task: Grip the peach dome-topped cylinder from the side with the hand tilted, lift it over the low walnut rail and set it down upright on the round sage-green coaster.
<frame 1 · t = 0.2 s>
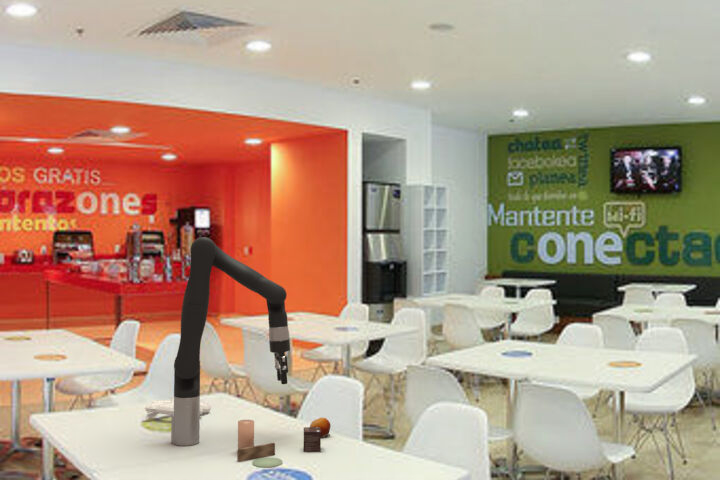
hand: (282, 382, 289), 21 cm above the table, fingers open, 8 cm apart
box: (311, 450, 276), on the table
pretzel: (177, 415, 324), on the table
fruit: (319, 436, 295), on the table
coaster: (267, 463, 260), on the table
peach dome-topped cylinder: (245, 453, 271), on the table
rail: (256, 457, 265), on the table
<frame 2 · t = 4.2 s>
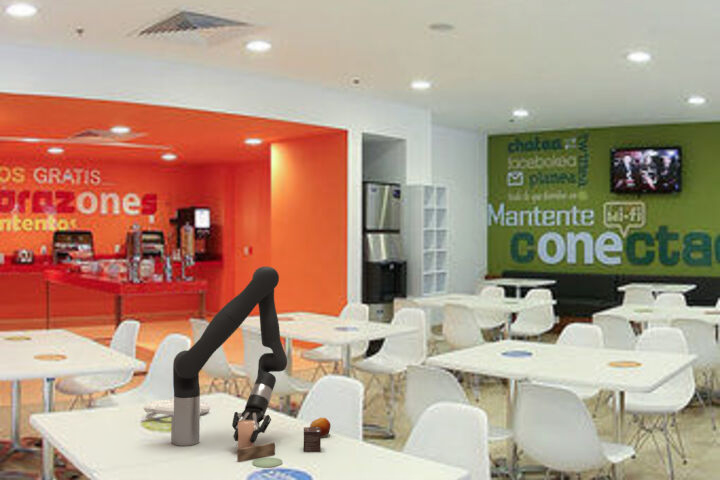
hand: (243, 440, 269), 5 cm above the table, fingers closed on peach dome-topped cylinder, 5 cm apart
peach dome-topped cylinder: (245, 453, 271), on the table, touching gripper
everything else where it was.
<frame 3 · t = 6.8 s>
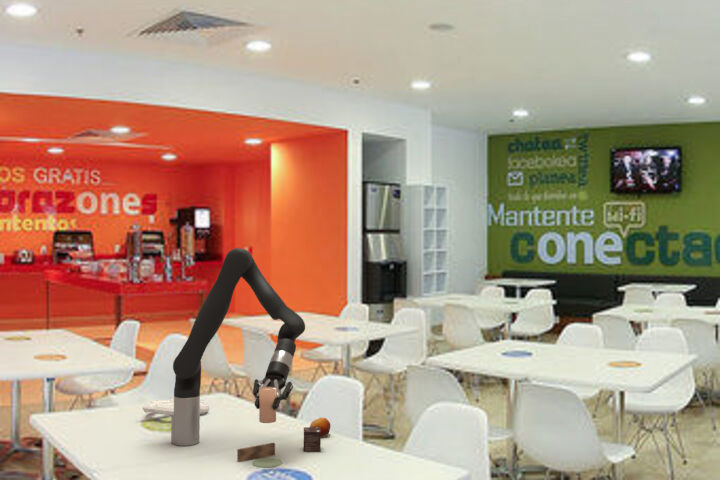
hand: (265, 408, 259), 18 cm above the table, fingers closed on peach dome-topped cylinder, 5 cm apart
peach dome-topped cylinder: (267, 421, 261), point 14 cm above the table, touching gripper
everything else where it was.
when the fingers open (6 cm above the table, at t = 9.8 s): peach dome-topped cylinder stays where it is, resting on coaster.
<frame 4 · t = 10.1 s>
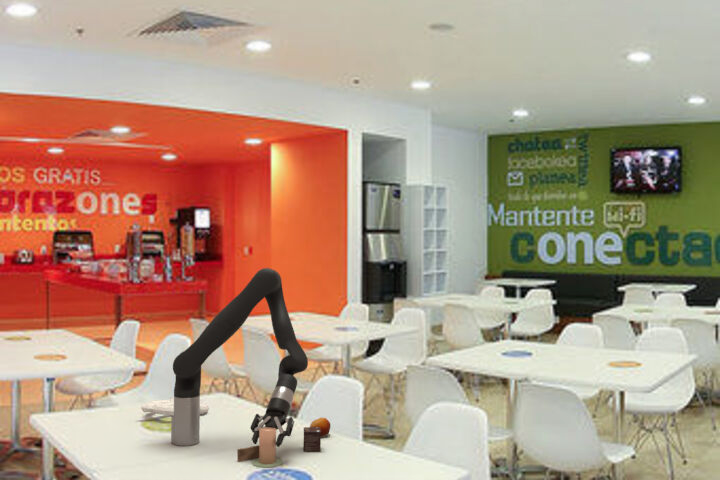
hand: (265, 444, 258), 7 cm above the table, fingers open, 8 cm apart
peach dome-topped cylinder: (267, 461, 260), resting on coaster
everything else where it was.
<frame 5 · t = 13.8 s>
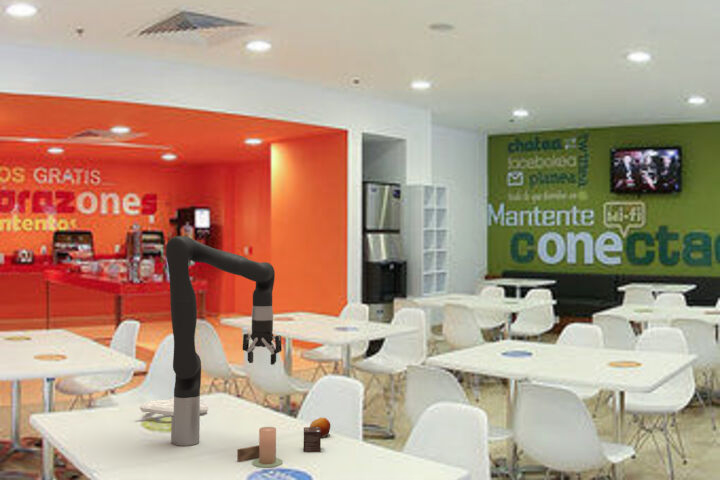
hand: (261, 363, 278), 30 cm above the table, fingers open, 8 cm apart
at the end: peach dome-topped cylinder 0.2 cm from the coaster (horizontally); peach dome-topped cylinder tilted 0°; the gripper is holding nothing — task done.
